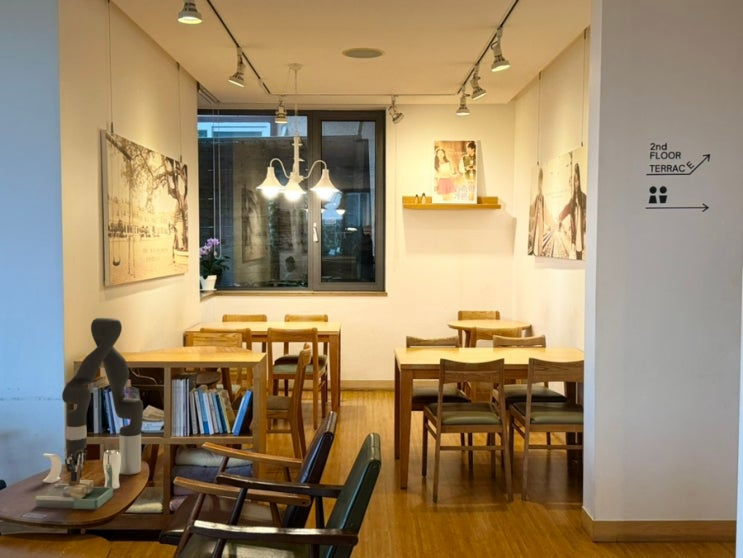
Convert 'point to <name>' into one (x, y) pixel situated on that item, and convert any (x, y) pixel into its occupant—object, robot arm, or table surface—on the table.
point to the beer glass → (112, 468)
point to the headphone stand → (54, 468)
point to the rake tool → (72, 482)
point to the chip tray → (94, 498)
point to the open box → (56, 498)
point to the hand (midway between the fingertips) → (76, 479)
